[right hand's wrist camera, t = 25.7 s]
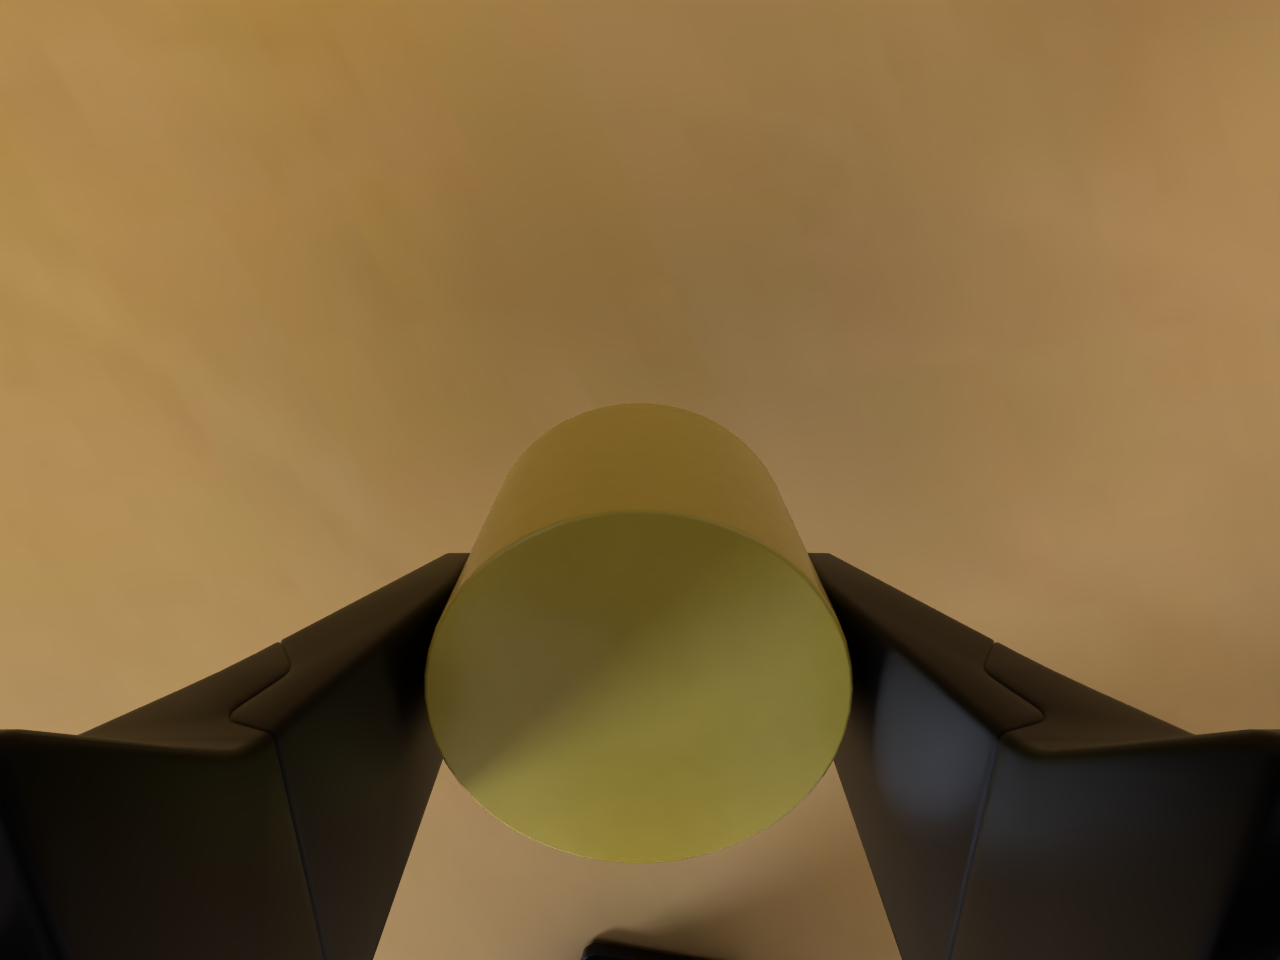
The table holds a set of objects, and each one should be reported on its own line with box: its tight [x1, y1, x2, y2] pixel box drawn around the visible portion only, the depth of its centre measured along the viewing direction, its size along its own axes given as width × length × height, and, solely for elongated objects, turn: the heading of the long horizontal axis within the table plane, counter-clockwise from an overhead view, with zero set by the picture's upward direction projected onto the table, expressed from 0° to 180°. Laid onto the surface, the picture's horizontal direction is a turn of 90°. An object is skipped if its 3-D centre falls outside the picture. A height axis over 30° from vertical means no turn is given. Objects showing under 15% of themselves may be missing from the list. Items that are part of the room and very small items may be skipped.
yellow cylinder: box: [425, 404, 853, 863], centre depth 10 cm, size 5×5×4 cm
